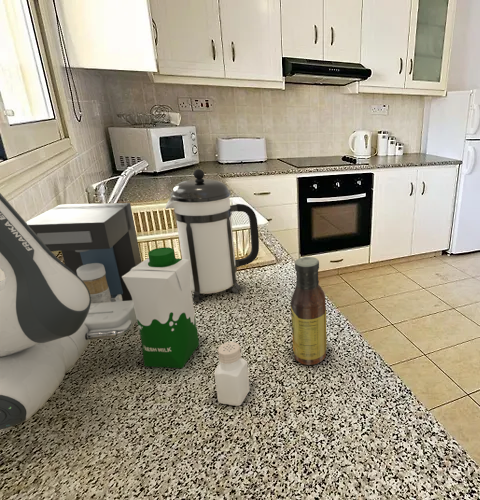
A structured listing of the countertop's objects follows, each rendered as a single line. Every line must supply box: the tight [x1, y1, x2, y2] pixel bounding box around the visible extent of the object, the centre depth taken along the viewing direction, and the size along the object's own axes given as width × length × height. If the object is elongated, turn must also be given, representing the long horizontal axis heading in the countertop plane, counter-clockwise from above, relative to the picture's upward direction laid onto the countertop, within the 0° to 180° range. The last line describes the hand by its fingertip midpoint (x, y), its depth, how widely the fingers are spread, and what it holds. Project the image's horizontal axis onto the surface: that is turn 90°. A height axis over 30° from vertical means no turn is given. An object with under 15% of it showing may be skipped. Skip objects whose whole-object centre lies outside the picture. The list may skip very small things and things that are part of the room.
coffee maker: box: [25, 202, 143, 301], centre depth 75 cm, size 13×14×24 cm
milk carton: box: [122, 246, 200, 369], centre depth 66 cm, size 9×9×20 cm
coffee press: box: [164, 168, 260, 304], centre depth 89 cm, size 17×16×30 cm
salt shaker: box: [213, 341, 251, 407], centre depth 58 cm, size 4×4×10 cm
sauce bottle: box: [290, 256, 328, 366], centre depth 66 cm, size 6×6×20 cm
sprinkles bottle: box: [76, 263, 111, 303], centre depth 76 cm, size 5×5×13 cm
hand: (91, 299), depth 73 cm, fingers open, 8 cm apart
